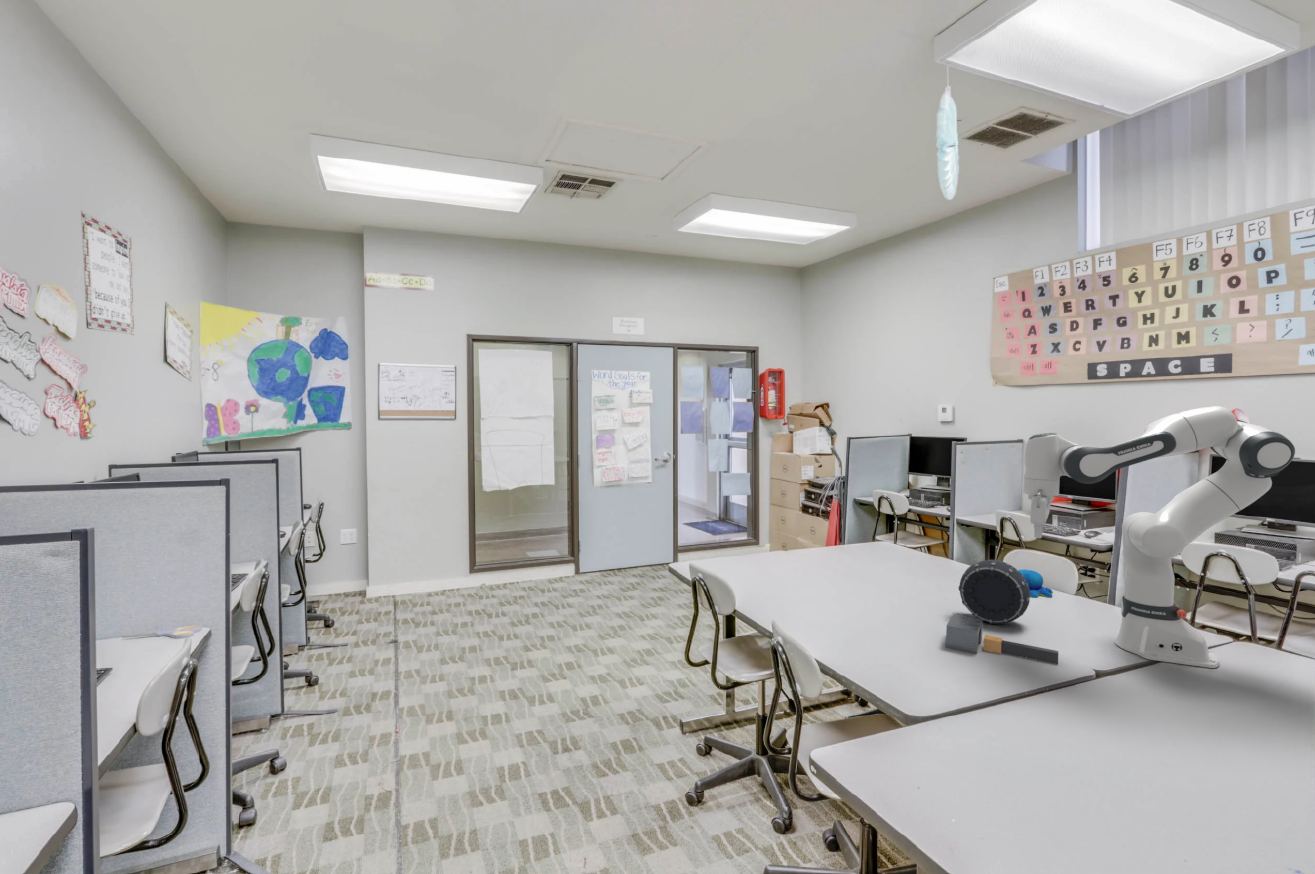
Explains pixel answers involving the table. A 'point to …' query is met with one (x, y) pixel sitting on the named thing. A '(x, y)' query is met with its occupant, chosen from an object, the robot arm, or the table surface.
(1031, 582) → the plush toy
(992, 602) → the dotted bowl
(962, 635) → the slotted block
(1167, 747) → the table surface
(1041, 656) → the plug
